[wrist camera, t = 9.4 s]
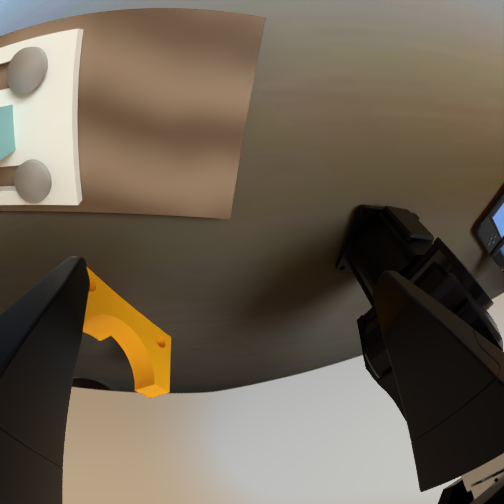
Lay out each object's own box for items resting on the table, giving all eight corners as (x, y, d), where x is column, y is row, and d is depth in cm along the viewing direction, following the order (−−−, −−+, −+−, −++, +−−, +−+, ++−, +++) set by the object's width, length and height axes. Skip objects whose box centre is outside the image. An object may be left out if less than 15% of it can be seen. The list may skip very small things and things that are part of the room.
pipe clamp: (56, 281, 22) (33, 337, 17) (82, 260, 21) (57, 320, 16) (141, 348, 29) (137, 401, 24) (171, 336, 28) (169, 392, 23)
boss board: (228, 210, 20) (232, 234, 18) (-23, 204, 16) (-42, 223, 13) (261, 20, 13) (272, 13, 10) (-36, 54, 8) (-61, 60, 6)
